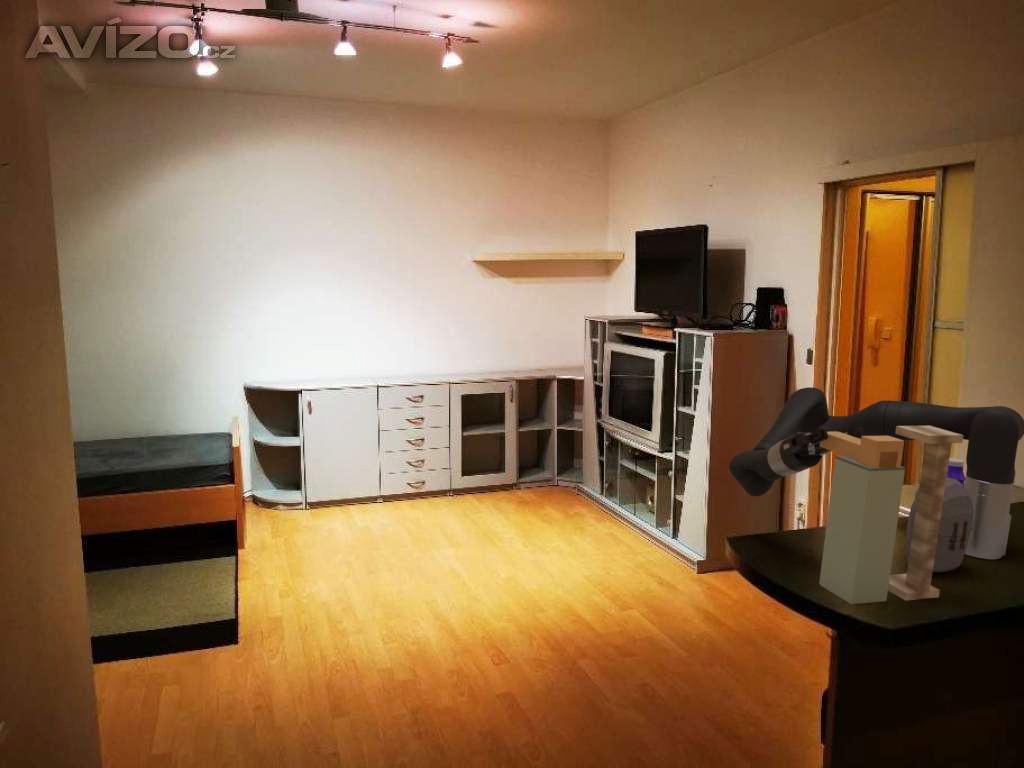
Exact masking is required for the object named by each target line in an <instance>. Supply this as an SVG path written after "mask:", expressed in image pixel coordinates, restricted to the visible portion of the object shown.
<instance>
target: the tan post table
mask: <svg viewBox="0 0 1024 768" xmlns="http://www.w3.org/2000/svg"><path fill="white" fill-rule="evenodd" d="M895 434H898V435H901V436H905V437H908V438H911V439H914V440H913V441H918V442H922V443H924V444H925V446H924V453H923V460H922V466H921V472H920V481H919V487H918V488H919V492H918V499H917V506H916V513H915V520H914V527H913V534H912V541H911V548H910V554H909V561H908V562H907V570H906V573H898V574H890V579H889V586H888V592H889V593H891V594H892V595H895V596H897V597H899V598H900V599H902V600H904V601H905V602H907V601H913V600H914V601H915V600H925V599H936V598H940V593H941V592H940V591H941V590H940V589H939V588H937V587H935V586H933V585H931V583H932V578H933V577H932V576H933V573H934V572H933V565H934V558H935V552H936V545H937V538H938V532H939V525H940V519H941V512H942V505H943V499H944V492H945V485H946V479H947V472H948V465H949V459H950V458H951V451H952V445H953V444H963V442H964V439H963V436H964V435H961V434H958V433H954V432H951V431H947V430H943V429H940V428H936V427H933V426H896V432H895Z"/></svg>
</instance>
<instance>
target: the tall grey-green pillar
mask: <svg viewBox="0 0 1024 768" xmlns="http://www.w3.org/2000/svg"><path fill="white" fill-rule="evenodd" d="M833 463H834V465H833V472H832V480H831V481H832V482H831V487H830V488H831V489H830V496H829V503H828V504H829V505H828V511H827V521H826V527H825V535H824V536H825V537H824V543H823V551H822V557H821V558H822V559H821V567H820V575H819V581H818V582H819V584H820V585H819V584H818V585H819V586H821V587H822V588H824V589H825V590H827V591H829V592H831V593H832V594H834V595H835V596H837V597H839V598H840V599H842V600H844V602H846V603H848V604H850V605H859V604H869V603H871V604H873V603H879V602H881V603H882V602H887V600H888V599H887V598H888V592H889V591H888V586H889V579H890V575H891V569H892V563H893V557H894V550H895V544H896V543H895V542H896V535H897V528H898V523H899V522H898V521H899V514H900V507H901V506H900V505H901V501H902V500H901V499H902V493H903V486H904V479H905V472H906V466H902V465H901V467H897V468H872V467H869V466H866V465H864V464H861V463H858V460H855V459H852V458H850V457H847V456H844V455H835V456H834V462H833Z"/></svg>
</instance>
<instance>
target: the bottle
mask: <svg viewBox="0 0 1024 768" xmlns="http://www.w3.org/2000/svg"><path fill="white" fill-rule="evenodd" d="M964 463H965V461H964V459H963V460H962V459H959V458H954V457H950V459H949V465H948V472H947V477H948V478H952V479H956V480H957V481H959V482H960V483H961V484H963V485H964V481H965V478H966V475H965V473H964V466H965V464H964Z"/></svg>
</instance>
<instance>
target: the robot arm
mask: <svg viewBox="0 0 1024 768" xmlns="http://www.w3.org/2000/svg"><path fill="white" fill-rule="evenodd" d="M896 426H933V427H936V428H940V429H943V430H947V431H951V432H954V433H958V434H961V435H964V436H963V440H967V442H968V443H967V450H966V457H965V463H966V472H965V484H964V487H965V488H966V489H967V491H968V492H969V494H970V497H971V499H972V506H973V524H972V531H971V532H970V536H969V540H968V544H967V548H966V551H965V554H964V555H966V556H970V557H975V558H978V559H985V560H998V559H1001V558H1002V557H1003V556H1006V551H1007V546H1008V545H1007V544H1008V539H1009V532H1010V526H1011V521H1012V515H1011V514H1010V508H1011V504H1012V503H1011V501H1012V495H1013V489H1014V483H1015V478H1016V468H1015V467H1016V465H1015V463H1016V456H1017V450H1018V446H1019V445H1018V444H1019V441H1021V439H1022V438H1023V436H1024V418H1023V416H1022V415H1021V414H1020V413H1019V412H1018V411H1016V410H1015V409H1014V408H1013V409H1012V408H1010V407H1007V406H1002V405H998V406H997V405H995V406H978V407H977V406H974V407H972V406H971V407H969V406H967V407H963V406H962V407H961V406H959V407H957V406H946V405H940V404H931V403H925V402H916V401H915V402H914V401H905V400H904V401H903V400H902V401H901V400H890V399H889V400H888V399H887V400H880V401H877V402H874V403H871V404H870V405H868V406H866V407H864V408H862V409H860V410H859V411H857V412H855V413H852V414H848V415H840V416H838V415H829V409H828V402H827V397H826V395H825V393H824V391H823V390H821V389H820V388H818V387H808V386H807V387H802V388H799V389H797V390H794V392H792V393H791V394H790V396H789V397H788V399H787V400H786V402H785V404H784V406H783V408H782V410H781V411H780V413H779V414H778V417H777V418H776V420H775V421H774V423H773V425H772V427H770V429H769V430H768V431H767V433H766V434H765V435H764V436H763V437H762V439H760V441H758V442H757V443H756V445H755V446H754V447H753V448H752V450H751V449H750V450H744V451H742V452H739V453H738V454H736V455H734V456H733V457H732V458H731V459H730V461H729V464H728V470H729V472H730V474H731V476H732V477H733V478H734V479H735V480H736V482H737V483H738V484H739V485H740V486H741V487H742V488H743V490H744V491H745V492H746V493H747V494H748V495H750V496H751V497H761V496H764V495H765V494H766V493H768V492H769V491H770V490H771V488H772V487H773V485H774V483H775V481H778V480H780V479H782V478H785V477H788V476H792V475H795V474H798V473H801V472H803V471H805V470H808V469H811V468H813V467H815V466H817V465H819V463H820V461H821V459H822V457H823V456H824V455H829V453H832V452H833V451H831V450H828V449H825V448H822V447H820V442H822V441H824V440H826V439H828V433H827V432H841V433H844V434H847V435H850V436H853V437H856V438H859V439H861V437H862V436H891V437H894V438H897V439H900V440H904V441H915V440H914V439H911V438H908V437H905V436H901V435H898V434H895V432H896Z"/></svg>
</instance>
